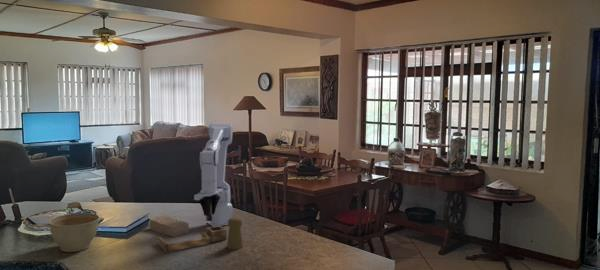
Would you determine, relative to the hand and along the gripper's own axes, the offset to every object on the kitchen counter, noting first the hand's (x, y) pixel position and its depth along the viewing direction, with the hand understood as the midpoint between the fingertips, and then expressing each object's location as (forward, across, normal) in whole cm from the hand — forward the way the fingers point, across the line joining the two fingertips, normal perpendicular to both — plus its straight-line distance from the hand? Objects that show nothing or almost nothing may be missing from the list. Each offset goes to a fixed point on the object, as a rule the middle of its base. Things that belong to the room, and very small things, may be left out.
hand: (209, 214), depth 171 cm
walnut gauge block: (+9, 0, +4) cm, 10 cm away
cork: (+9, +3, +16) cm, 18 cm away
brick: (+10, +3, -20) cm, 22 cm away
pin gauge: (+2, 0, 0) cm, 2 cm away
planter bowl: (+9, +36, -32) cm, 49 cm away
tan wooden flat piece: (+9, +11, -3) cm, 14 cm away
